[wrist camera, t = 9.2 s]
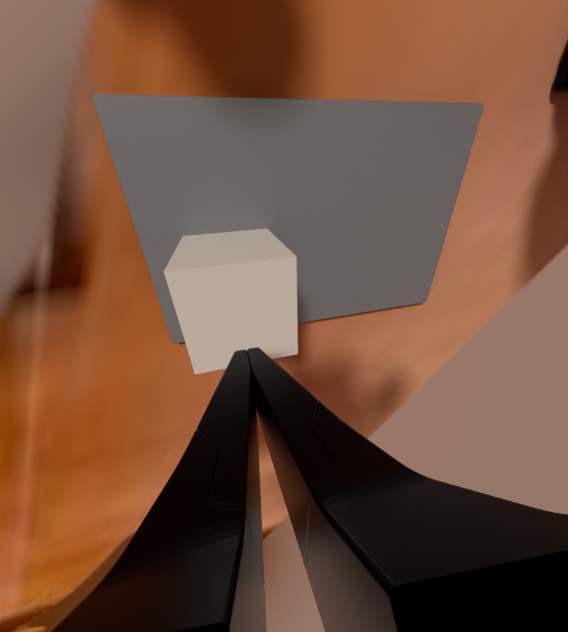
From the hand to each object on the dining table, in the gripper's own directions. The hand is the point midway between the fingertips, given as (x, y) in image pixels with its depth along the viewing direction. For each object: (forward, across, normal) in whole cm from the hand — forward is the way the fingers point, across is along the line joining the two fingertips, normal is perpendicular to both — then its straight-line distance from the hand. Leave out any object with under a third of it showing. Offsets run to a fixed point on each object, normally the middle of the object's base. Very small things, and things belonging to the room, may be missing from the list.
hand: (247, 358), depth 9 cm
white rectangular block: (+9, 0, 0) cm, 9 cm away
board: (+10, -6, -2) cm, 12 cm away
